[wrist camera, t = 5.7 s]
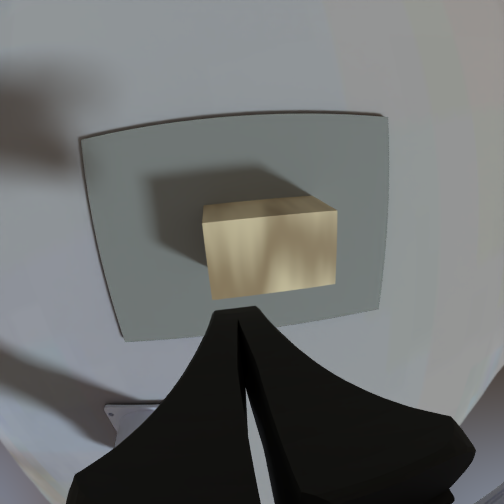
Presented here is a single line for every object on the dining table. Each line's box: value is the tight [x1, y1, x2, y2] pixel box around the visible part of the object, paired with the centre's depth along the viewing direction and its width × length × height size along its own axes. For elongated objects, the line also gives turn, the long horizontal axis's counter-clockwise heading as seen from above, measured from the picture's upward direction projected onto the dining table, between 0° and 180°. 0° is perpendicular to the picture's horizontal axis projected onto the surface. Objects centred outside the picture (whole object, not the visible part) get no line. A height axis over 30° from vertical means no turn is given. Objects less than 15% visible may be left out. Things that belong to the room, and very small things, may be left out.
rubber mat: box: [81, 114, 389, 342], centre depth 19 cm, size 14×19×1 cm
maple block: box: [202, 196, 337, 300], centre depth 17 cm, size 4×4×6 cm
